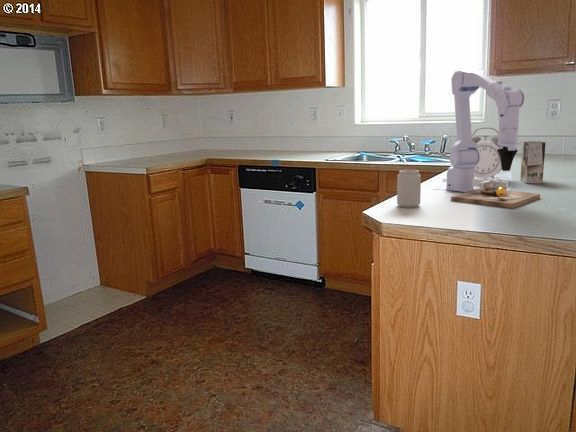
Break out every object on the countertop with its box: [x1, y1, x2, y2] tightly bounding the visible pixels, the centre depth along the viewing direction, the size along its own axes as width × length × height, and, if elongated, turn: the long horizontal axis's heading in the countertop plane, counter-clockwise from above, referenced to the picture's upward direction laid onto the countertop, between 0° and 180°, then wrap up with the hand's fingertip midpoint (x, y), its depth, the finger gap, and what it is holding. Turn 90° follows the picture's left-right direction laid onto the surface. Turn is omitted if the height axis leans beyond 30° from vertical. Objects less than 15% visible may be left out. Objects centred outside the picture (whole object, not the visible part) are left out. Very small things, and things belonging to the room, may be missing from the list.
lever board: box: [450, 187, 541, 209], centre depth 166 cm, size 21×21×2 cm
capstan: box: [473, 177, 509, 197], centre depth 167 cm, size 15×15×4 cm
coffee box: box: [520, 140, 547, 184], centre depth 195 cm, size 9×6×16 cm
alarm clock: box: [471, 127, 503, 180], centre depth 203 cm, size 16×9×22 cm, turn 61°
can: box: [396, 169, 422, 209], centre depth 160 cm, size 8×8×12 cm
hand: (505, 170), depth 159 cm, fingers closed
